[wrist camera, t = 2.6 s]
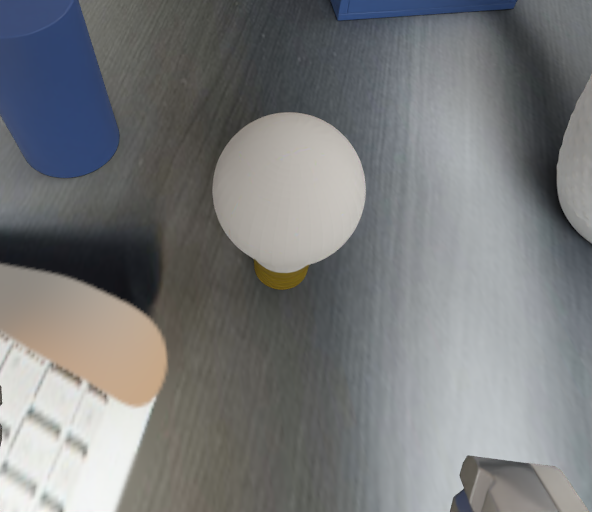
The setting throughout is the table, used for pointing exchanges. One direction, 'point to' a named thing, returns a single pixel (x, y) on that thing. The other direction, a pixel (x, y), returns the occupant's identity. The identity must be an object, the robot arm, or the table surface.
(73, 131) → the blue pillar
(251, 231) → the light bulb
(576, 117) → the mug
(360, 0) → the blue tray
